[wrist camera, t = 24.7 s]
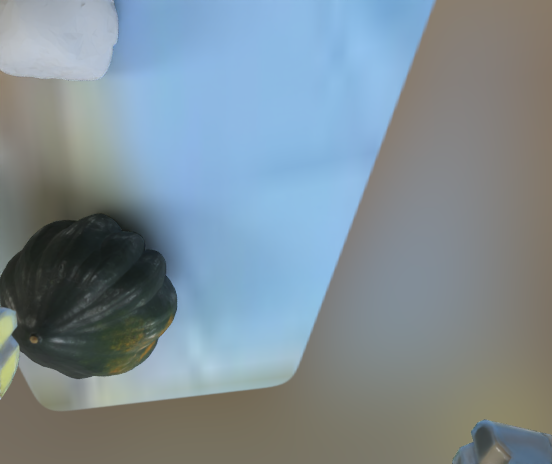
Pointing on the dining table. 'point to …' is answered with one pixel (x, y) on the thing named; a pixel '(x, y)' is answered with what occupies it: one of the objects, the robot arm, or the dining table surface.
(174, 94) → the dining table surface
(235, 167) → the dining table surface
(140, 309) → the squash
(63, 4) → the decorative stone
